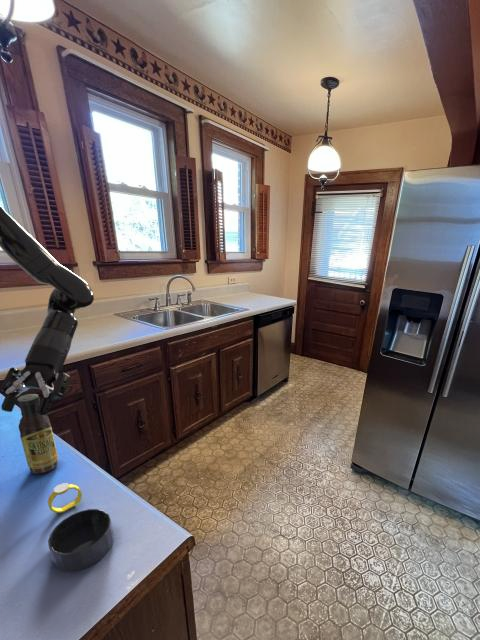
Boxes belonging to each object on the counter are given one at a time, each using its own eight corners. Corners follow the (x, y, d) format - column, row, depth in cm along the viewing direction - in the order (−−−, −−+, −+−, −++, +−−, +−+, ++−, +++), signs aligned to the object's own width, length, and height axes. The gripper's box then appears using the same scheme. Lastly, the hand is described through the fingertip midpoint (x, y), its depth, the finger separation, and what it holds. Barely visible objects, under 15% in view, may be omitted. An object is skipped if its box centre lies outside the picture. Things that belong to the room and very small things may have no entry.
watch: (81, 497, 72) (75, 476, 69) (85, 503, 70) (80, 483, 68) (50, 511, 67) (43, 490, 65) (54, 519, 66) (47, 498, 63)
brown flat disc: (28, 472, 78) (28, 471, 78) (47, 460, 82) (46, 459, 82) (44, 476, 77) (44, 475, 77) (62, 464, 81) (62, 463, 81)
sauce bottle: (35, 478, 76) (13, 407, 68) (25, 468, 79) (2, 398, 71) (65, 464, 81) (47, 397, 73) (54, 455, 84) (36, 389, 76)
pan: (40, 562, 57) (34, 545, 55) (84, 520, 66) (80, 504, 64) (85, 578, 55) (80, 561, 53) (125, 532, 64) (121, 516, 62)
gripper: (11, 340, 75) (-21, 405, 69) (67, 345, 74) (40, 411, 68) (34, 354, 82) (8, 414, 76) (86, 358, 81) (63, 419, 75)
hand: (23, 412), depth 72 cm, fingers open, 8 cm apart
